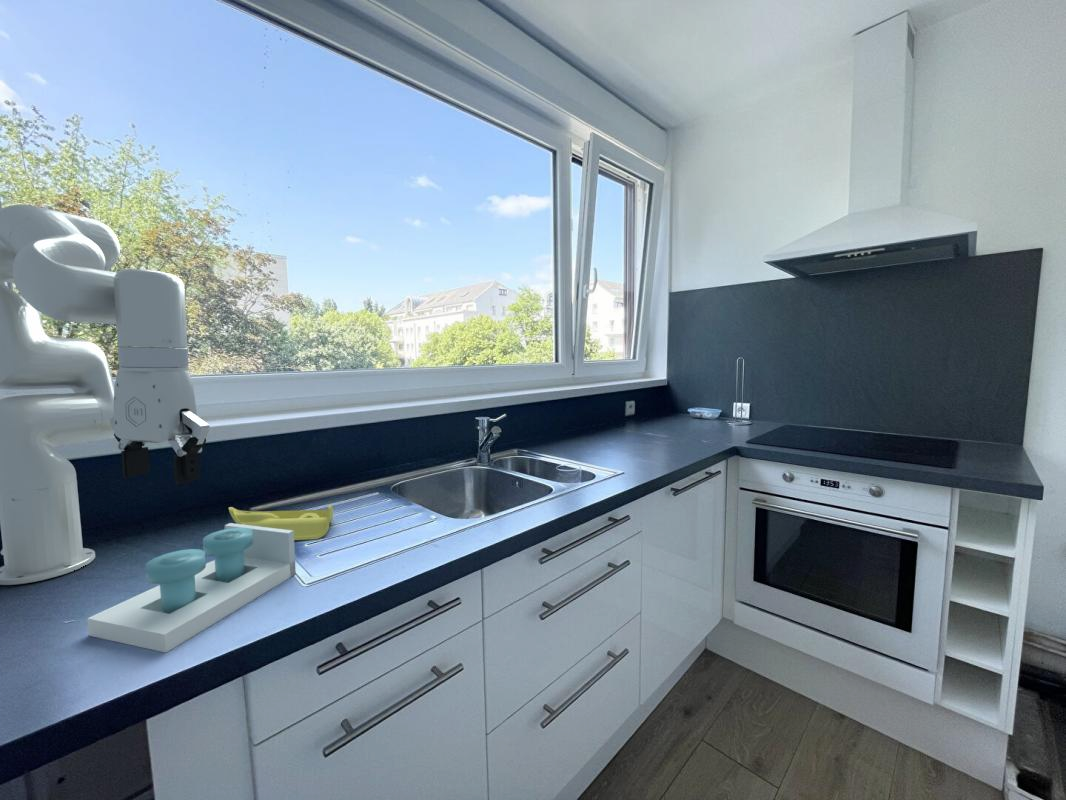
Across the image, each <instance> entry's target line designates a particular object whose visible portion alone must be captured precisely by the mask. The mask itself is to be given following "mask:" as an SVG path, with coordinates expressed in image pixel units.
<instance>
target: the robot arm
mask: <svg viewBox="0 0 1066 800" xmlns="http://www.w3.org/2000/svg"><path fill="white" fill-rule="evenodd" d="M120 253H121V245H120V242H119V239H118V237H117V235H116V233H115V232H114V230H112V229H111V228H110V227H109V226H108V225H107V224H105V223H103V222H101V221H99V220H97V219H93V218H91V217H85V216H81V215H77V214H72V213H67V212H64V211H61V210H60V211H59V210H55V209H51V208H47V207H42V206H37V205H30V204H12V205H8V206H4V207H2V208H1V209H0V389H1V390H12V391H13V390H15V391H17V390H18V391H20V390H21V391H22V390H23V391H24V390H51V389H70V390H72V392H69V393H43V394H42V393H40V394H38V393H37V394H24V395H13V396H8V397H3V398H0V532H1V533H0V534H1V542H2V548H1V550H0V555H1V556H3V562H4V565H2V566H0V586H12V585H13V586H15V585H23V584H29V583H36V582H40V581H45V580H49V579H52V578H57V577H59V576H63V575H66V574H69V573H72V572H74V570H75V571H77V570H79V569H82V568H83V566H84V567H86V566H87V565H89V564H90V563H92V562H93V561H94V560H95V559H96V551H95V550H94V549H92V548H87V547H86V548H85V547H83V536H82V535H83V534H82V524H81V513H80V502H79V493H78V492H79V491H78V479H77V472H76V468H75V467H74V464H72V463H71V462H70V460H69V459H67V458H66V457H64V456H63V455H61V454H59V453H58V452H57V451H56V450H55V448H57V447H63V446H68V445H75V444H83V443H85V444H86V443H91V442H98V441H105V440H109V439H111V438H113V437H114V438H115V439H116V440H117V442H118V444H117V448H118V450H119V451H121V454H120V455H121V464H122V465H121V467H122V468H121V469H122V477H123V478H125V479H130V478H134V477H135V478H136V477H138V476H142V475H143V476H144V475H147V474H149V473H150V468H151V467H150V457H149V455H150V454H149V447H148V446H145V445H146V443H152V444H163V443H166V442H168V443H169V445H170V446H171V448H172V449H173V450H174V452H175V453H176V455H174V456H172V458H173V460H172V461H173V477H174V479H173V480H174V484H175V485H182V484H185V483H190V482H193V481H198V480H199V479H200V477H201V474H200V473H201V472H200V453H202V451H203V447H204V445H205V444H206V443H207V436H208V434H209V431H210V424H208V422H206V421H205V420H203V419H202V418H200V417H199V416H198V414H197V410H198V409H197V404H196V396H195V391H194V385H193V381H192V377H191V374H190V369H189V368H190V367H189V354H188V353H189V352H188V351H189V350H188V348H189V347H188V334H187V333H188V332H187V330H188V329H187V312H186V311H187V310H186V293H185V292H186V291H185V285H184V283H183V280H182V279H181V278H179V277H178V276H177V275H174V274H172V273H167V272H163V271H159V270H150V269H141V268H140V269H139V268H137V269H134V268H129V269H121V270H119V271H117V272H116V271H110V270H111V269H112V268H113V267H114V265H116V264H117V262H118V260H119V257H120V255H121V254H120ZM5 283H11V284H14V285H15V287H16V290H17V291H18V292H16V291H15V290H13V289H11V288H10V287H9V286H7V284H5ZM40 314H42V315H44V316H46V317H48V318H50V319H54V320H57V321H62V322H69V323H85V324H86V323H88V324H106V325H116V339H117V355H118V356H117V357H118V370H117V372H116V375H115V380H114V378H113V375H112V371H111V368H110V365H109V361H108V358H107V357H106V354H105V352H104V351H103V349H102V348H101V347H100V346H99V345H97V344H96V343H94V342H93V341H90V340H86V339H81V338H71V337H69V338H68V337H52V336H49V335H48V334H47V333H46V331H45V329H44V325H43V321H42V317H41V315H40ZM114 381H115V382H114ZM183 442H185V443H184V444H183ZM85 565H86V566H85ZM81 567H82V568H81Z"/></svg>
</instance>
